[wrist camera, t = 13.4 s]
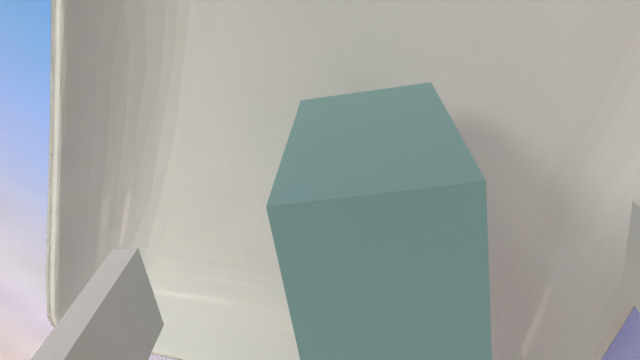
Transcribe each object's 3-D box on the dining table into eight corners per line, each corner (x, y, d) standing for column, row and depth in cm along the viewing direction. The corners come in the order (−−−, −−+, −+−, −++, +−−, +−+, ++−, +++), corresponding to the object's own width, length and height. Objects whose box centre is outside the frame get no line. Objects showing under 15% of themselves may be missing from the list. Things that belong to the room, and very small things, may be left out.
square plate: (101, -313, 19) (41, -372, 15) (819, -111, 20) (920, -121, 16) (73, 292, 30) (36, 339, 26) (531, 395, 31) (553, 453, 28)
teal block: (324, 233, 23) (308, 397, 15) (300, 100, 20) (265, 206, 12) (441, 220, 22) (492, 383, 14) (431, 82, 20) (486, 180, 12)
